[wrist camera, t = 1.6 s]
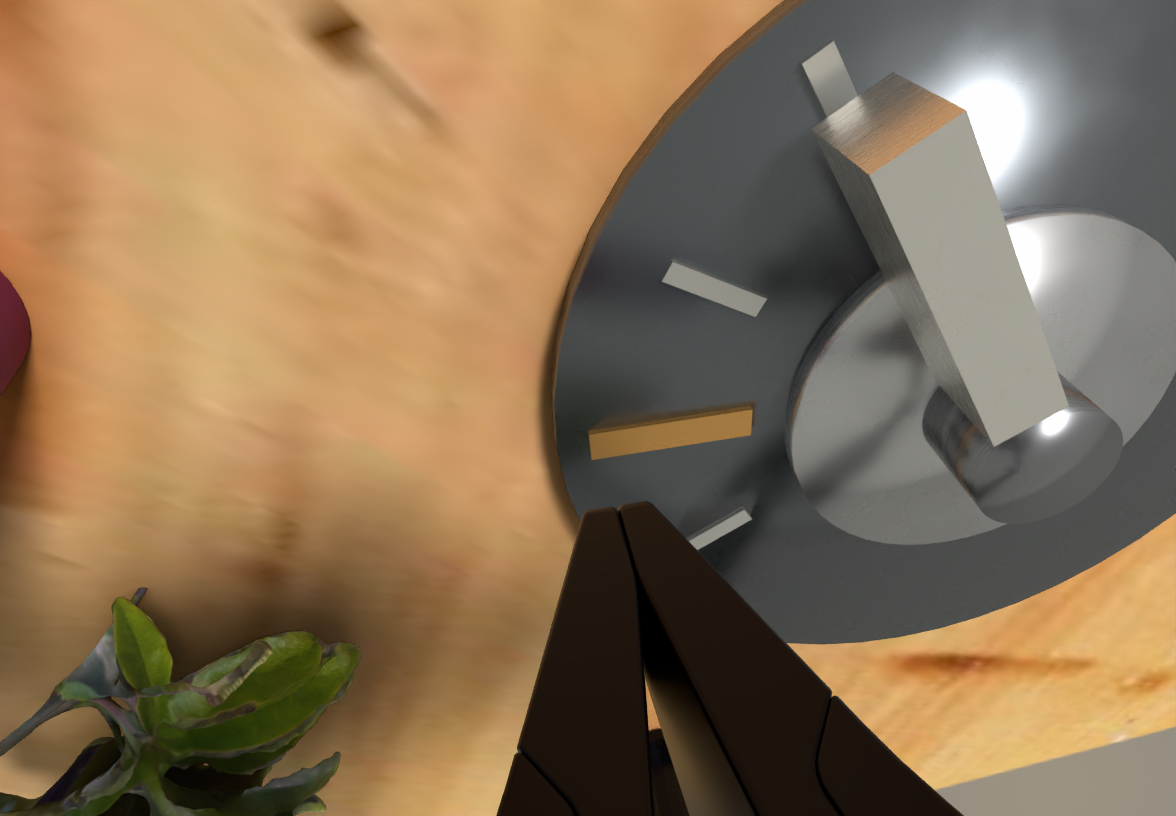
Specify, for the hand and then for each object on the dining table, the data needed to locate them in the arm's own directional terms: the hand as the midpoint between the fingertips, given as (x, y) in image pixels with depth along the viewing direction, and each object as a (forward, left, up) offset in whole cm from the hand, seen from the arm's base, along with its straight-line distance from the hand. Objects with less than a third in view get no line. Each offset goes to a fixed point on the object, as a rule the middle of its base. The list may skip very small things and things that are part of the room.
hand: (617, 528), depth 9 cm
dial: (-10, -7, -11) cm, 17 cm away
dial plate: (-13, -7, -12) cm, 19 cm away
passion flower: (-6, +21, -12) cm, 25 cm away
